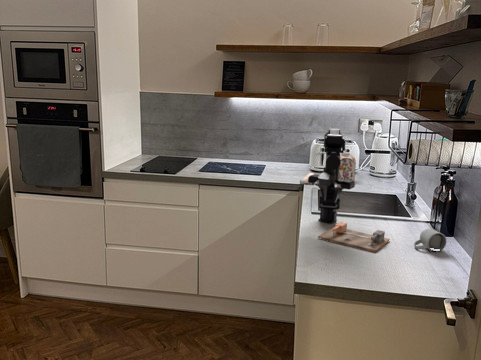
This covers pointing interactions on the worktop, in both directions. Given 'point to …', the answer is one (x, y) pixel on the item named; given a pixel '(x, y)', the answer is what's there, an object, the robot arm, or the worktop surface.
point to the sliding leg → (340, 227)
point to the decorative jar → (347, 167)
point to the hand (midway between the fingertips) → (329, 201)
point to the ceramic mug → (431, 240)
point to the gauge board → (357, 239)
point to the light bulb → (306, 179)
